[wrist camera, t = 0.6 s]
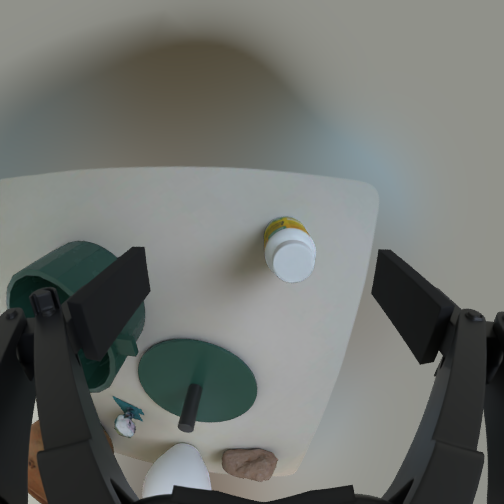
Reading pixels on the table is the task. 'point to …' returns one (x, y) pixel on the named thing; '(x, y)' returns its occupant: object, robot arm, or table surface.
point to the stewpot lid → (197, 381)
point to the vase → (176, 471)
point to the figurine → (126, 419)
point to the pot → (33, 472)
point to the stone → (249, 463)
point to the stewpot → (67, 283)
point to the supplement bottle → (289, 249)
